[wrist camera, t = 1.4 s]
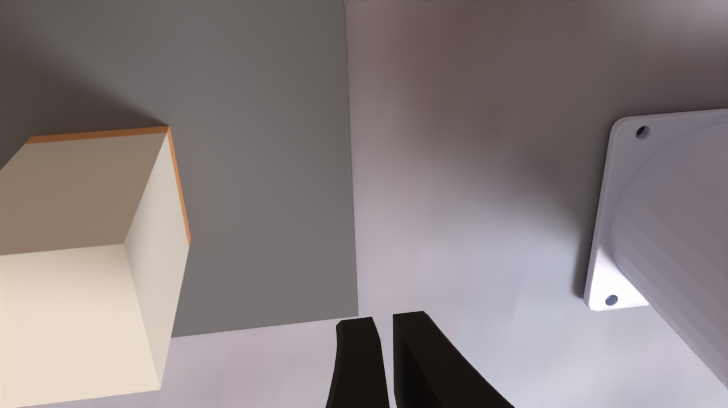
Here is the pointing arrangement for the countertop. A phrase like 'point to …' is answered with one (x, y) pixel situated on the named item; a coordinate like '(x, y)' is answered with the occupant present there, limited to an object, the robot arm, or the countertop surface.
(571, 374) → the countertop surface
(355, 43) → the countertop surface
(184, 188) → the mat
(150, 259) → the tall block
